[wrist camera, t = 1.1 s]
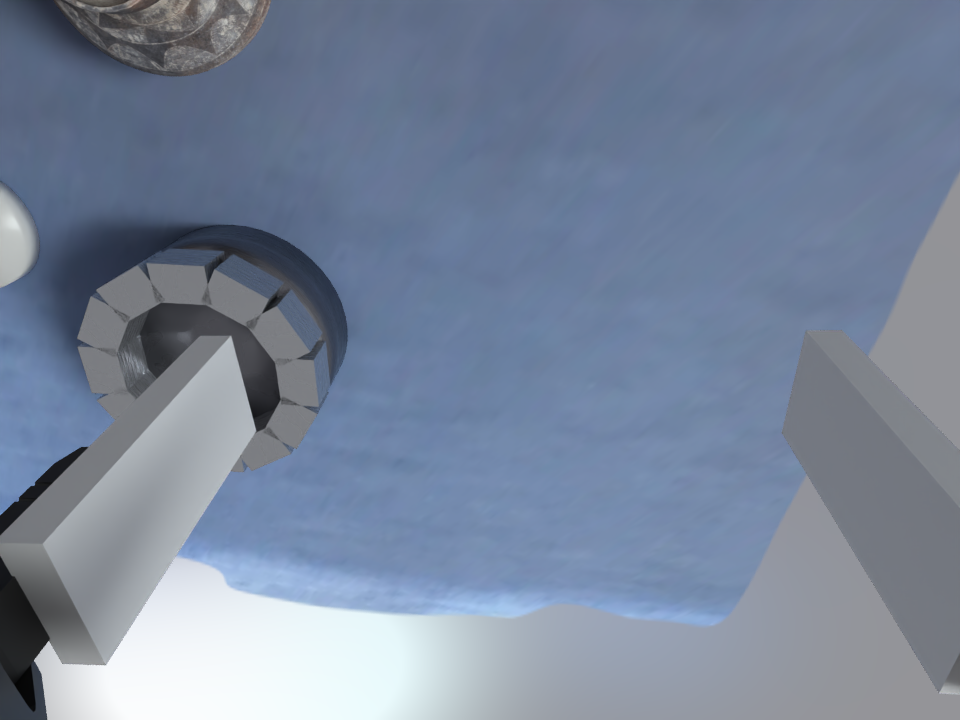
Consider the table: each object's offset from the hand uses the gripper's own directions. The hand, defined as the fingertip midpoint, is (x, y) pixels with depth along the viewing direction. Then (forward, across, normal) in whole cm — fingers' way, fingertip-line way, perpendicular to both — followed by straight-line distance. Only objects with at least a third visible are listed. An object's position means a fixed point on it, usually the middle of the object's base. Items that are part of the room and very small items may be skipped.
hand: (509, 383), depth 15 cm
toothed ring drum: (+26, -19, -11) cm, 34 cm away
